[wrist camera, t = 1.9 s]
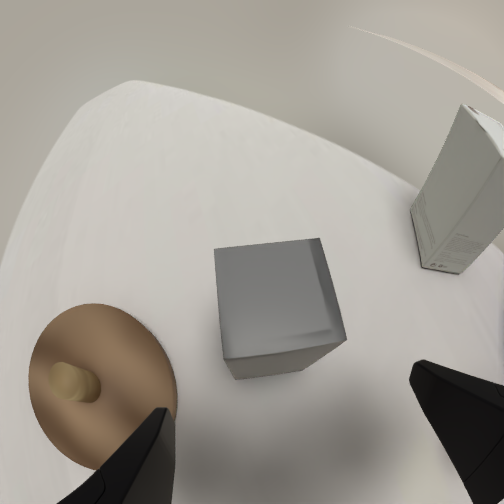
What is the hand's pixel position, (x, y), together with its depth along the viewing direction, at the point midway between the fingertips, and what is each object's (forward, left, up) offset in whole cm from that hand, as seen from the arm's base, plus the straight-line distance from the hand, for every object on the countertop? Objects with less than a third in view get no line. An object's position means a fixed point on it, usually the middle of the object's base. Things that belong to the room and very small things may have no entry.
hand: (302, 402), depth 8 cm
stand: (-4, +13, -11) cm, 18 cm away
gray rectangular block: (+4, +2, -11) cm, 12 cm away
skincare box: (+19, -13, -11) cm, 26 cm away
